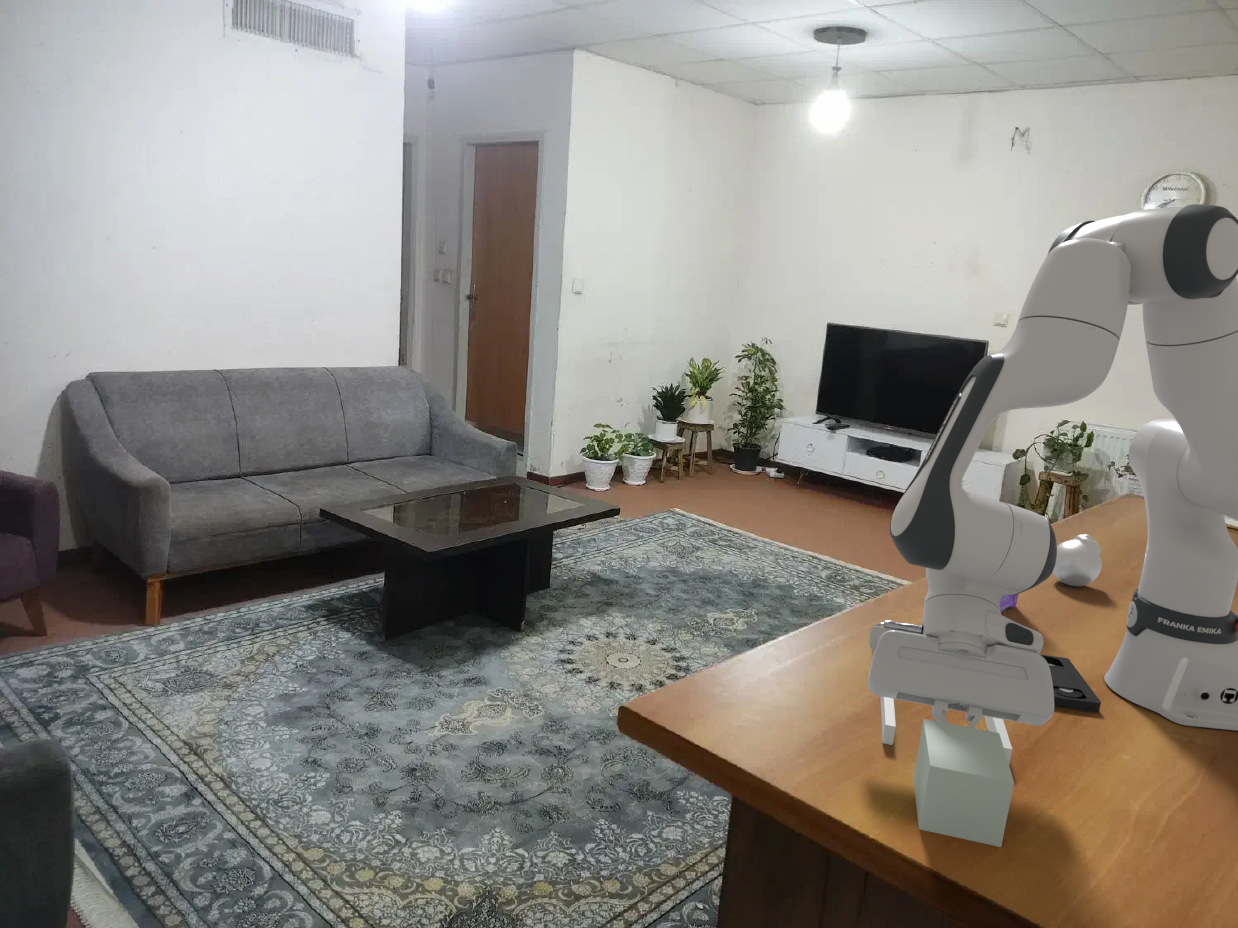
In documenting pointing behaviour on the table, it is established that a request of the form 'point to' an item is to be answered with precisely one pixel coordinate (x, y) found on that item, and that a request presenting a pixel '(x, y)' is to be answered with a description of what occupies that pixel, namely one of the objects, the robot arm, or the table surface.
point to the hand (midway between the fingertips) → (955, 746)
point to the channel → (890, 725)
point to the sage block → (962, 782)
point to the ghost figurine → (1078, 561)
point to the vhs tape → (1070, 686)
